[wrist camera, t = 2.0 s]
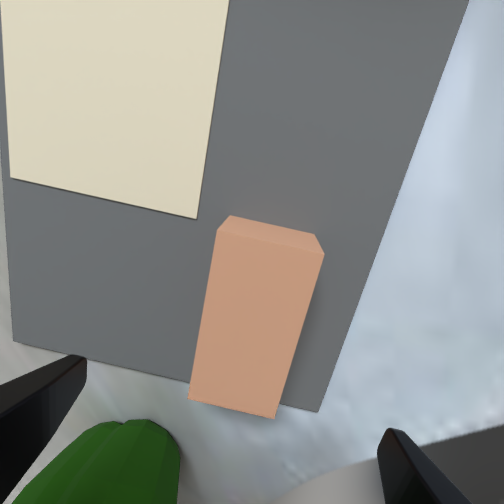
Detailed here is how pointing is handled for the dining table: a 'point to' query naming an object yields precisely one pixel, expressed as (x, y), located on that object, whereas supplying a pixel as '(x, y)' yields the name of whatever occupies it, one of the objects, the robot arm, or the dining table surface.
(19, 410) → the robot arm
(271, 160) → the rubber mat
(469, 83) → the dining table surface
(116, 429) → the bell pepper
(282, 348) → the flat block
